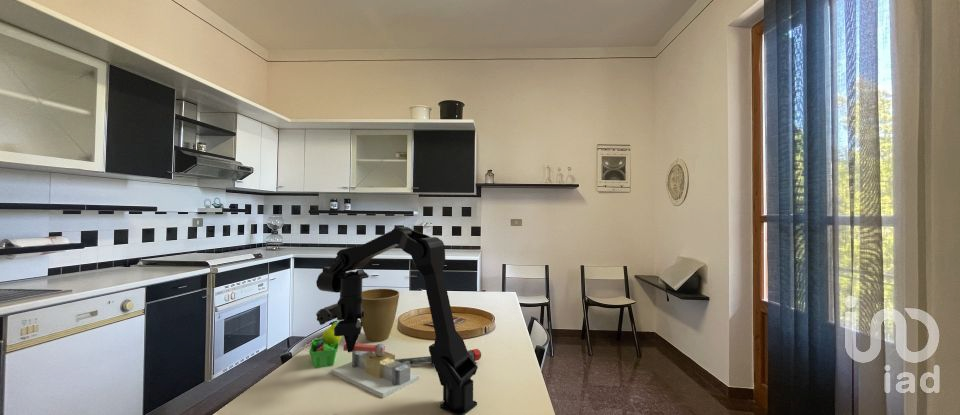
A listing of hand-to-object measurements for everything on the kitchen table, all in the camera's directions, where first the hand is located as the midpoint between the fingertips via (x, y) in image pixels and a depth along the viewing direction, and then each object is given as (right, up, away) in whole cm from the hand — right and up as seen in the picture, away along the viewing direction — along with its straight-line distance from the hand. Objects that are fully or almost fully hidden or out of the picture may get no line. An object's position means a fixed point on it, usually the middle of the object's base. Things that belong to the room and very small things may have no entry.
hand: (350, 352), depth 99 cm
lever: (+3, -1, +2) cm, 4 cm away
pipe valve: (+8, -7, +1) cm, 11 cm away
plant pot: (-1, -7, +30) cm, 30 cm away
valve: (+23, -8, +11) cm, 26 cm away
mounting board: (+7, -7, +1) cm, 10 cm away
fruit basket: (-11, -7, +11) cm, 17 cm away
